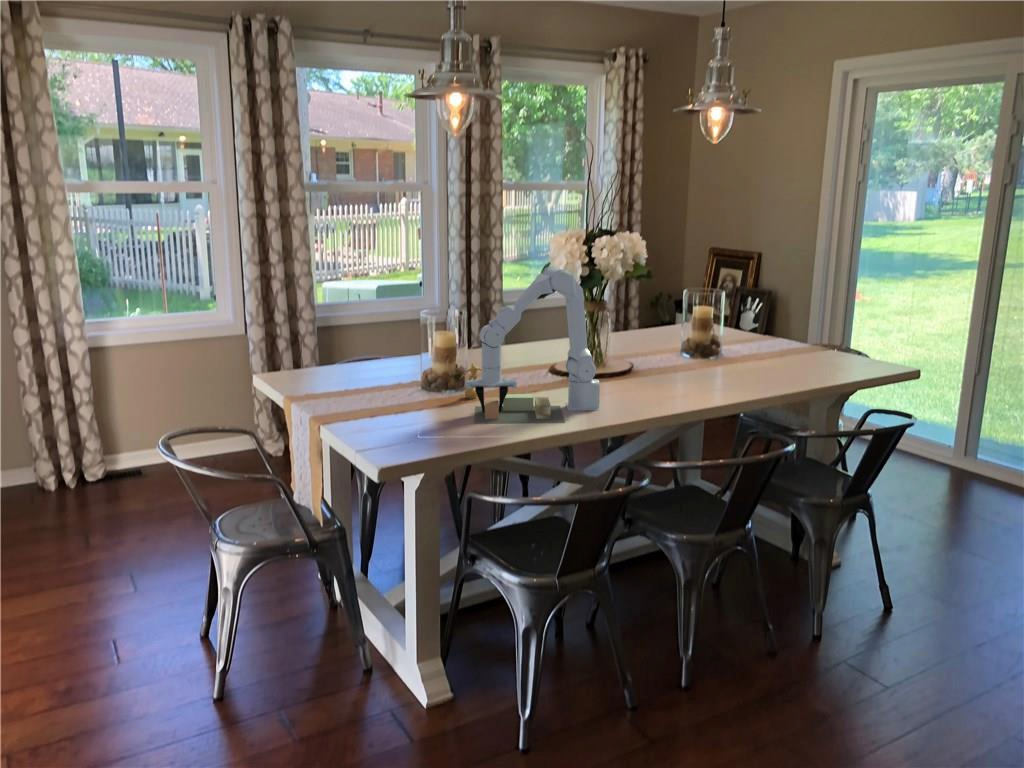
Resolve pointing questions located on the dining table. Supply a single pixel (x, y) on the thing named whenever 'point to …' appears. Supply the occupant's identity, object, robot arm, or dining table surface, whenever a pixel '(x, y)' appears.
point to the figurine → (471, 392)
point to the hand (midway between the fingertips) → (491, 411)
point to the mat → (519, 416)
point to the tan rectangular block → (491, 408)
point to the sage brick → (518, 402)
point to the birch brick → (542, 407)
